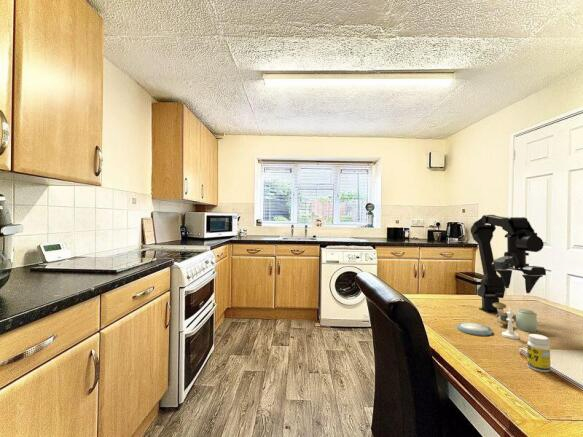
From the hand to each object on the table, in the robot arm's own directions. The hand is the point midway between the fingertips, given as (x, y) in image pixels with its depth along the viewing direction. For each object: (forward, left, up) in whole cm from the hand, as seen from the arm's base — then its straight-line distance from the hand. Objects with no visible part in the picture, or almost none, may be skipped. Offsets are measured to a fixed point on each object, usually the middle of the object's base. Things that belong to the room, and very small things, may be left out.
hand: (517, 290), depth 117 cm
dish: (+4, -21, -13) cm, 25 cm away
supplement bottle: (+33, -25, -13) cm, 44 cm away
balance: (-4, -3, -13) cm, 14 cm away
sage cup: (+5, -1, -13) cm, 14 cm away
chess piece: (+11, -13, -13) cm, 22 cm away
